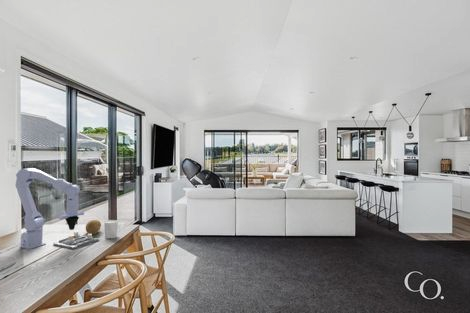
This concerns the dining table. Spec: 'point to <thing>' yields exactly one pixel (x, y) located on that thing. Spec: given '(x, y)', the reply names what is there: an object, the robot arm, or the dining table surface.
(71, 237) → the breaker
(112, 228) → the white cup
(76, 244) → the panel
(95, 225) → the potato
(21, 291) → the dining table surface
